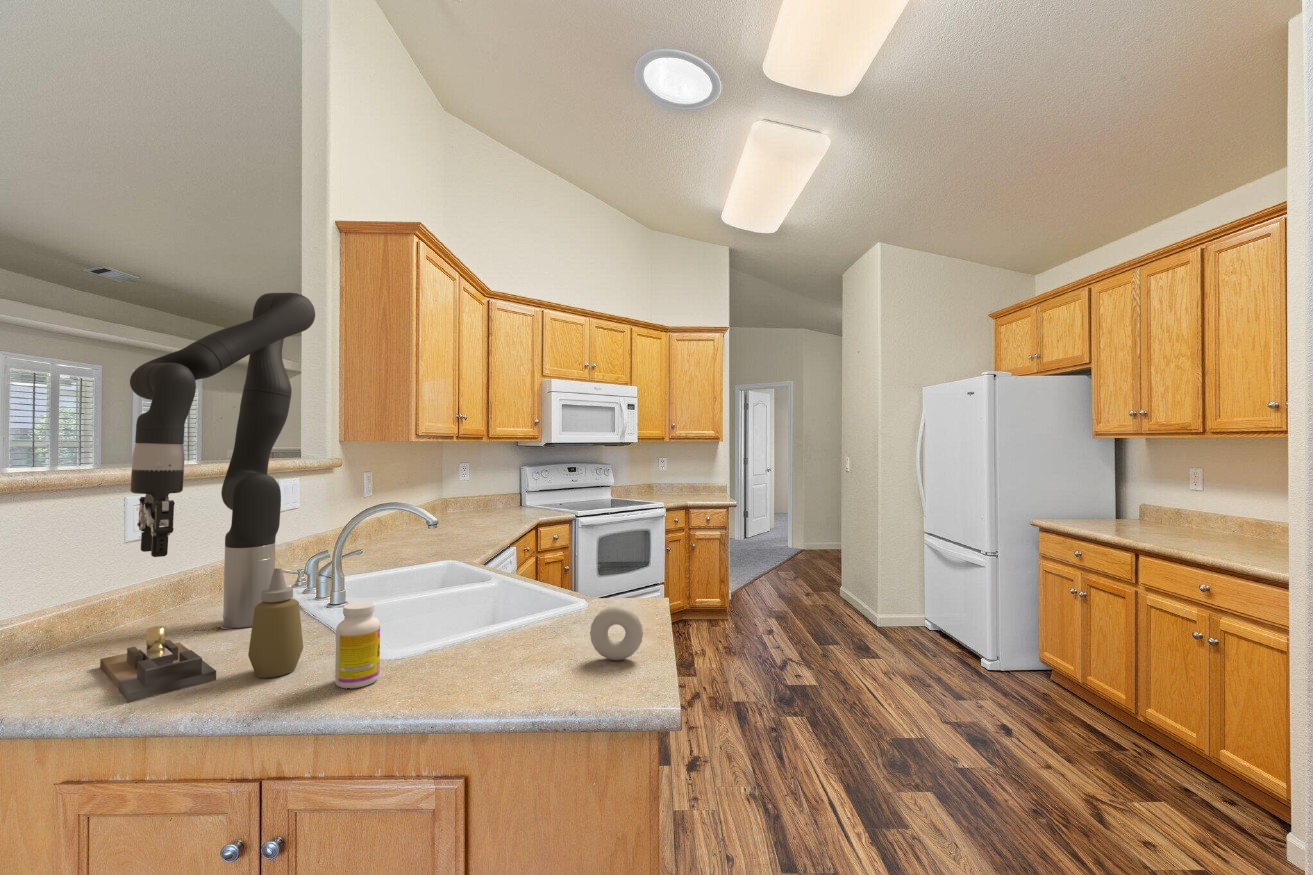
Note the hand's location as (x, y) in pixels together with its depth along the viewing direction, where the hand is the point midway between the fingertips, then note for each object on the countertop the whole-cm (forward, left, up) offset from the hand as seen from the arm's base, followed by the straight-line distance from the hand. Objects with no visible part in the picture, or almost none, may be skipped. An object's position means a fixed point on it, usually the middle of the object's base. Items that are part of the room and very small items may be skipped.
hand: (153, 553), depth 108 cm
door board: (+2, +13, -19) cm, 23 cm away
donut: (-53, +70, -19) cm, 90 cm away
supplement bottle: (-18, +43, -19) cm, 50 cm away
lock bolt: (+2, +12, -17) cm, 21 cm away
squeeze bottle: (-11, +28, -19) cm, 35 cm away
